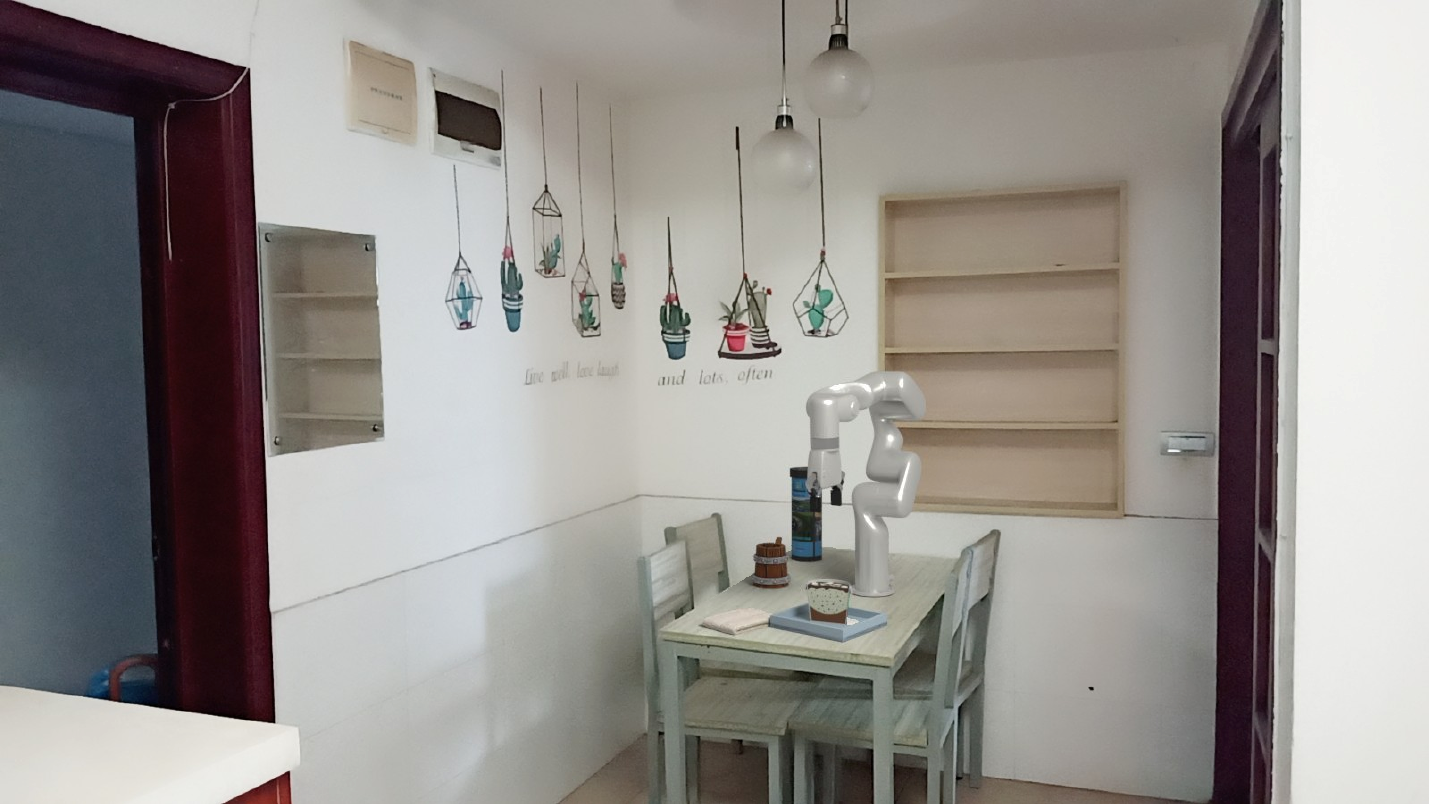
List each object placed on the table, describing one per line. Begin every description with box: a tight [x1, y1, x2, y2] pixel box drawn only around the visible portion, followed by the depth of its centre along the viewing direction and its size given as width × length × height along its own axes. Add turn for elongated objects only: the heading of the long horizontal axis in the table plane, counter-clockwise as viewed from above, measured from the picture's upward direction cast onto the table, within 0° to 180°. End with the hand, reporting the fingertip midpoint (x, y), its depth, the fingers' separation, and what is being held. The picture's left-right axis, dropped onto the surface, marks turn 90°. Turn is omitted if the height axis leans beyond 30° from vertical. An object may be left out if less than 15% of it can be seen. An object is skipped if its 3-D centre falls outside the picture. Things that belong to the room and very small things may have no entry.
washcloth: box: [701, 607, 773, 636], centre depth 269 cm, size 12×18×3 cm, turn 133°
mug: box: [751, 536, 792, 590], centre depth 315 cm, size 12×14×15 cm
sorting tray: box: [769, 602, 888, 643], centre depth 268 cm, size 20×22×3 cm
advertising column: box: [789, 466, 823, 563], centre depth 350 cm, size 11×11×30 cm
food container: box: [804, 578, 853, 625], centre depth 269 cm, size 12×6×10 cm, turn 66°
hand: (826, 508), depth 278 cm, fingers open, 9 cm apart
